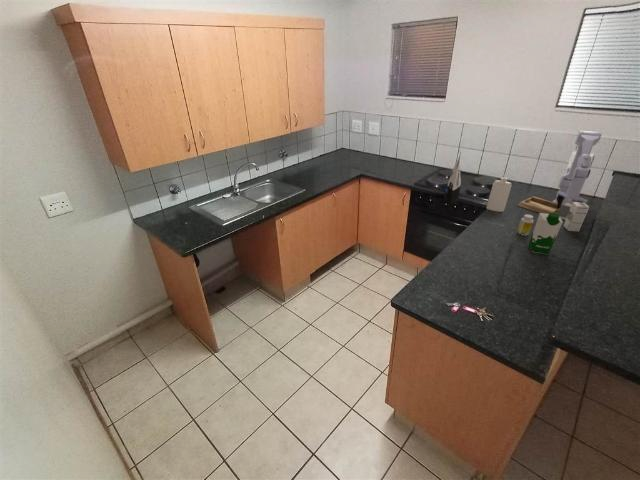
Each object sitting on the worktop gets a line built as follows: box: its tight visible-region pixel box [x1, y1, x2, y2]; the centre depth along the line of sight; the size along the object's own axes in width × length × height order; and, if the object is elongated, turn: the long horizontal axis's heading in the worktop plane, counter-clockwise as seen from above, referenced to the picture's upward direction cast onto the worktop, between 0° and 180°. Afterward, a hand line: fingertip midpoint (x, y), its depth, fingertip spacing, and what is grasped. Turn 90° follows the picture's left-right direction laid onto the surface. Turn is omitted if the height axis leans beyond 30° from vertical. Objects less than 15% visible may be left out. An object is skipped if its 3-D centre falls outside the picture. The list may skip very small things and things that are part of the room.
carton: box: [518, 196, 560, 214], centre depth 194 cm, size 17×18×3 cm
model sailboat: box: [443, 151, 462, 205], centre depth 203 cm, size 10×24×30 cm, turn 157°
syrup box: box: [562, 201, 590, 232], centre depth 168 cm, size 6×6×14 cm
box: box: [557, 203, 572, 218], centre depth 184 cm, size 7×4×6 cm, turn 124°
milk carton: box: [528, 213, 564, 255], centre depth 149 cm, size 9×9×20 cm
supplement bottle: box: [516, 214, 535, 236], centre depth 166 cm, size 6×6×10 cm
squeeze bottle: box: [486, 176, 512, 213], centre depth 189 cm, size 10×20×5 cm
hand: (565, 210), depth 184 cm, fingers open, 7 cm apart
